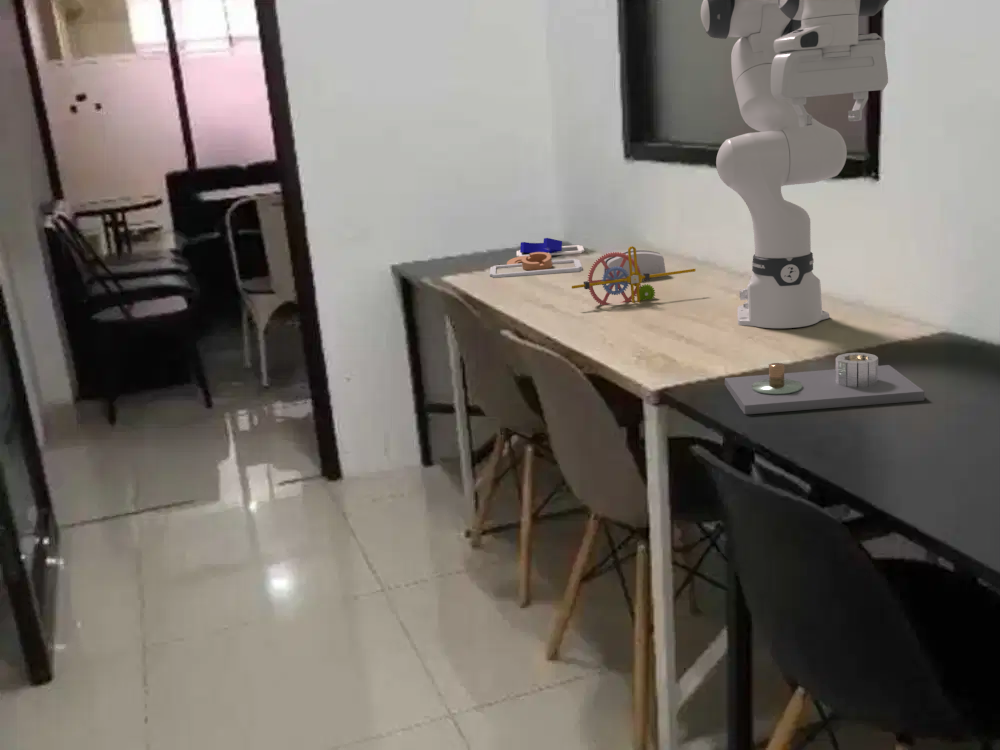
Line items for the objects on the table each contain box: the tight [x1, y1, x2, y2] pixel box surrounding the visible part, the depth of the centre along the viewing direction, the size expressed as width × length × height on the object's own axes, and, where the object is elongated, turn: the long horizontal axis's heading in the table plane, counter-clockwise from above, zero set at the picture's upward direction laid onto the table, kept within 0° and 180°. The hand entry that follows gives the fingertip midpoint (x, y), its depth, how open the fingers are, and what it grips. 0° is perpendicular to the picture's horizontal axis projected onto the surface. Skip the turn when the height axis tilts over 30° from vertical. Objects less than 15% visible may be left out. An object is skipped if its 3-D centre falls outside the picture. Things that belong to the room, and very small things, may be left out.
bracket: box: [506, 252, 553, 271], centre depth 298 cm, size 18×8×7 cm, turn 28°
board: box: [724, 364, 925, 415], centre depth 172 cm, size 16×28×2 cm, turn 89°
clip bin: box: [516, 244, 585, 257], centre depth 318 cm, size 12×20×4 cm, turn 89°
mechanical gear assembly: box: [571, 245, 696, 306], centre depth 244 cm, size 30×4×15 cm, turn 102°
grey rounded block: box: [602, 249, 667, 279], centre depth 271 cm, size 17×5×10 cm, turn 100°
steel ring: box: [835, 352, 879, 387], centre depth 171 cm, size 6×6×4 cm
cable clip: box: [519, 237, 563, 254], centre depth 315 cm, size 12×4×6 cm
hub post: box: [752, 362, 802, 395], centre depth 172 cm, size 8×8×4 cm
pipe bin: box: [489, 258, 583, 279], centre depth 292 cm, size 15×25×4 cm, turn 89°
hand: (830, 123), depth 174 cm, fingers open, 8 cm apart
